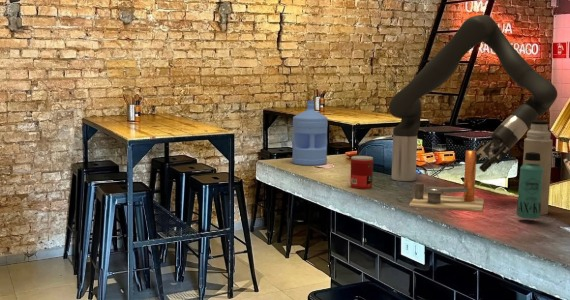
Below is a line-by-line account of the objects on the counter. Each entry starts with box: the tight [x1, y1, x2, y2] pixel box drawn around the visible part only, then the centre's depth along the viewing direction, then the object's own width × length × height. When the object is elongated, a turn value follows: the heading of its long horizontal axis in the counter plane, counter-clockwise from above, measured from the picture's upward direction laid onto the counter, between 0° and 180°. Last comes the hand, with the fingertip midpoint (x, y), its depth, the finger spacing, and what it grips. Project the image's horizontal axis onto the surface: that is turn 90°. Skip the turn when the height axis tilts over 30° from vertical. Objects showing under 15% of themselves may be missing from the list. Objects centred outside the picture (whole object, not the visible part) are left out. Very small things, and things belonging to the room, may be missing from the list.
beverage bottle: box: [516, 152, 544, 220], centre depth 184 cm, size 6×7×20 cm
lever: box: [424, 149, 477, 201], centre depth 208 cm, size 17×6×16 cm, turn 101°
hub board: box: [408, 182, 485, 213], centre depth 209 cm, size 18×22×6 cm
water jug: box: [291, 100, 329, 167], centre depth 290 cm, size 16×16×28 cm
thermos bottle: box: [522, 120, 553, 216], centre depth 196 cm, size 8×8×28 cm
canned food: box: [349, 155, 374, 190], centre depth 235 cm, size 8×8×11 cm
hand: (475, 167), depth 209 cm, fingers open, 8 cm apart
